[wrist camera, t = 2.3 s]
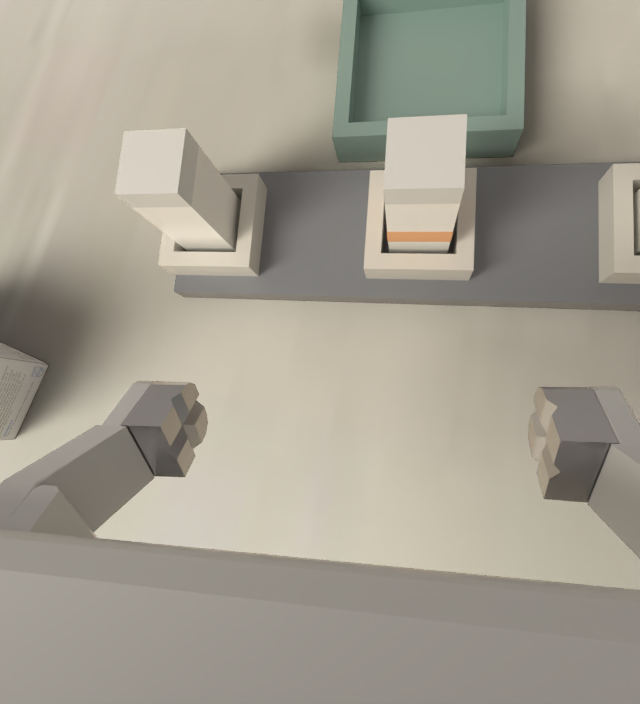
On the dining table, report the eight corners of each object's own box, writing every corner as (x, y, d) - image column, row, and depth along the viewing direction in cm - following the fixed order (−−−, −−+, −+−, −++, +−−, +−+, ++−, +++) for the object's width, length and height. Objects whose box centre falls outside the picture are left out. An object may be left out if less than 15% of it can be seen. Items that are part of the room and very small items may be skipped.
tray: (512, 156, 30) (523, 128, 27) (338, 162, 33) (332, 137, 30) (515, 1, 32) (526, -41, 29) (350, 17, 34) (345, -20, 31)
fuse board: (707, 312, 27) (751, 297, 23) (181, 296, 33) (155, 283, 30) (701, 173, 28) (743, 139, 24) (194, 184, 35) (172, 159, 31)
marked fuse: (446, 258, 29) (464, 188, 20) (389, 258, 29) (382, 189, 20) (448, 205, 29) (467, 113, 20) (392, 206, 30) (387, 117, 21)
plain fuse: (240, 256, 31) (177, 193, 23) (193, 255, 32) (114, 194, 23) (245, 208, 32) (185, 128, 23) (199, 208, 32) (123, 131, 24)
